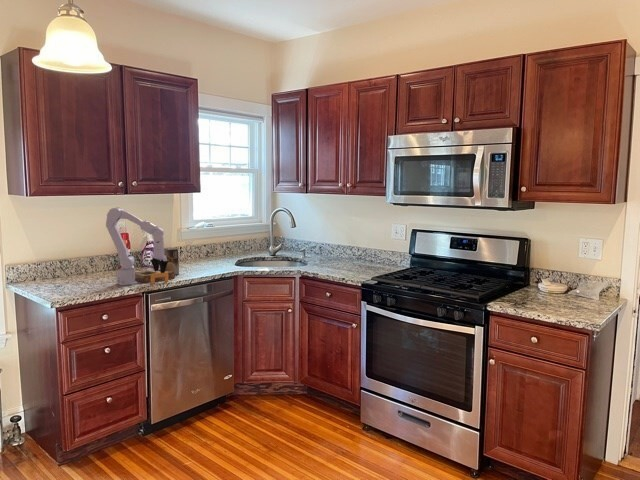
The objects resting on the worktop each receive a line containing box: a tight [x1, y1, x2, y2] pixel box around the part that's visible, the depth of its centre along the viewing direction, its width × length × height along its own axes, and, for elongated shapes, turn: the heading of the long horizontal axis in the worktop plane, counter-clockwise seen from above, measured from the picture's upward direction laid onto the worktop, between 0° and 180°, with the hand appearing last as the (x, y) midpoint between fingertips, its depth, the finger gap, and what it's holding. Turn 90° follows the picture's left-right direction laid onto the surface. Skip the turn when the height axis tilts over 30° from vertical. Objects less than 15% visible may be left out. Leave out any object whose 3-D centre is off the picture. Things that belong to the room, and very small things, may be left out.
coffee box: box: [164, 248, 180, 276], centre depth 301 cm, size 9×6×16 cm
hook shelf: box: [135, 268, 176, 284], centre depth 285 cm, size 20×14×5 cm
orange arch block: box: [150, 272, 169, 285], centre depth 274 cm, size 10×2×6 cm, turn 137°
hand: (159, 272), depth 274 cm, fingers open, 7 cm apart
